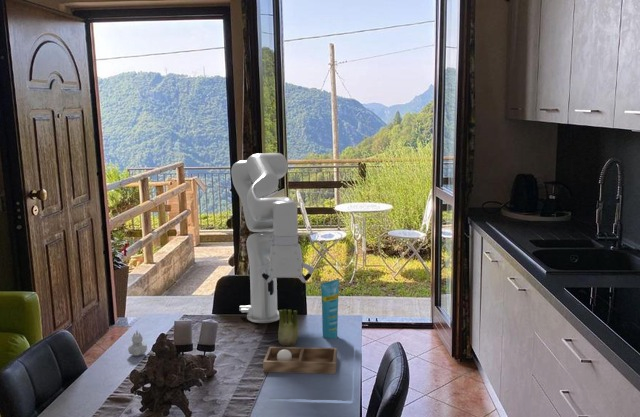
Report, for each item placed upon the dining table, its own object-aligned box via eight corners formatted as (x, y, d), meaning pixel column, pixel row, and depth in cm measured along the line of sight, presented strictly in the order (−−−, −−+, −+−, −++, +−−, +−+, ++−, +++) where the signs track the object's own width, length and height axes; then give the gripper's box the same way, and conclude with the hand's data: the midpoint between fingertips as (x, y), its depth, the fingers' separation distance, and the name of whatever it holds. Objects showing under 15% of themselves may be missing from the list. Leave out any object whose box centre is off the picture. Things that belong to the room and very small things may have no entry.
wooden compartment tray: (263, 373, 157) (263, 361, 156) (269, 357, 167) (269, 346, 167) (335, 375, 155) (335, 363, 155) (337, 359, 166) (337, 348, 165)
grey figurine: (148, 350, 174) (147, 326, 172) (146, 359, 167) (144, 334, 166) (130, 352, 173) (128, 327, 172) (127, 360, 166) (125, 335, 165)
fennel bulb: (299, 345, 177) (299, 308, 175) (290, 350, 173) (289, 313, 171) (285, 341, 180) (284, 305, 178) (275, 346, 176) (275, 310, 174)
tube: (327, 342, 179) (326, 284, 176) (317, 338, 182) (316, 281, 179) (343, 335, 184) (343, 279, 181) (332, 331, 187) (332, 276, 184)
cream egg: (275, 367, 159) (275, 352, 159) (278, 360, 164) (277, 346, 163) (291, 367, 159) (290, 353, 158) (293, 361, 163) (292, 346, 163)
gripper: (255, 242, 168) (257, 297, 170) (312, 242, 167) (313, 297, 169) (260, 238, 175) (261, 290, 178) (314, 238, 174) (315, 290, 176)
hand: (287, 293), depth 173 cm, fingers open, 9 cm apart
